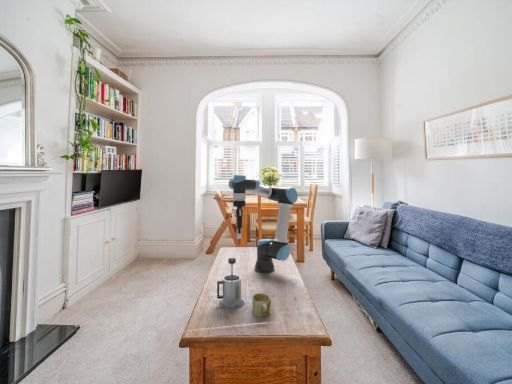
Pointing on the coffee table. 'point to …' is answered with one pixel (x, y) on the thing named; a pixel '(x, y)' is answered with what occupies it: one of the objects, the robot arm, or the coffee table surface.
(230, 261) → the plunger
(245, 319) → the coffee table surface
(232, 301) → the grey french press
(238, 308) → the coaster
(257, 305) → the mug
